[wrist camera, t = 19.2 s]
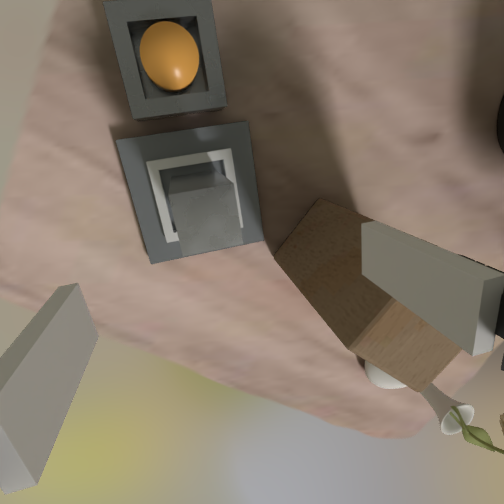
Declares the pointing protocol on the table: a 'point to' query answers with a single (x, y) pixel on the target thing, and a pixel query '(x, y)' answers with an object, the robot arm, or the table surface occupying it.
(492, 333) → the robot arm
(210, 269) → the table surface
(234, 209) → the steel billet
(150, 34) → the button
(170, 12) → the button station
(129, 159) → the plate
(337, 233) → the wooden block
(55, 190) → the table surface
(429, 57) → the table surface
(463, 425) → the flower in vase
